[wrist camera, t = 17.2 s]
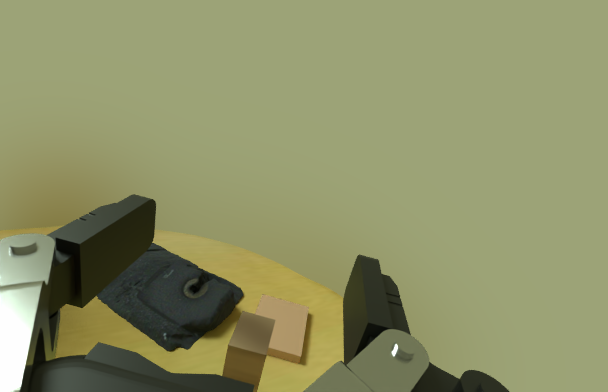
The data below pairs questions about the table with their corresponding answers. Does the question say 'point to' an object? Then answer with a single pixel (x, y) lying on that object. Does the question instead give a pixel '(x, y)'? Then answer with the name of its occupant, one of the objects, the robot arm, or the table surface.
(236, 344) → the brown post on base
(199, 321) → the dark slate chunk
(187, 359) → the table surface
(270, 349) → the tile
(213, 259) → the table surface
